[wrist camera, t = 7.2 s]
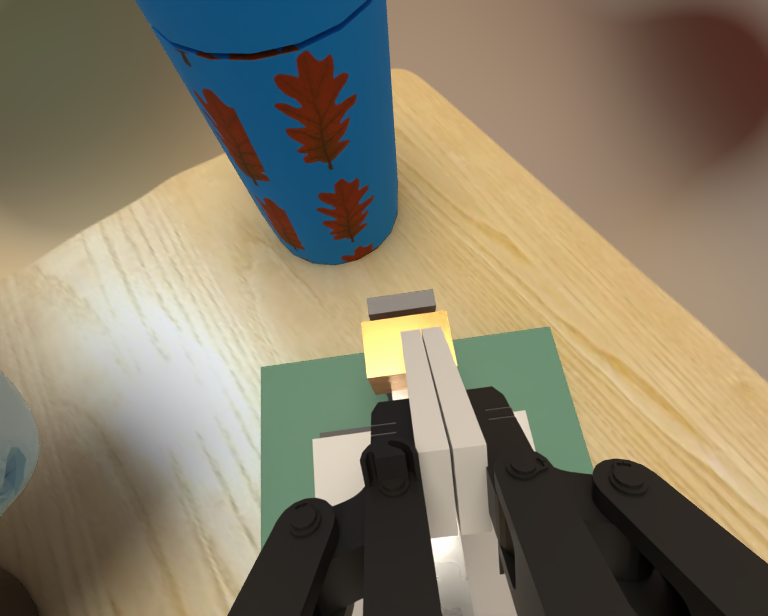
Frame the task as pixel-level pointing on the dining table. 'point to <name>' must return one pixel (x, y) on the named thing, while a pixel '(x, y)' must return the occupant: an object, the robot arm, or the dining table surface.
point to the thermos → (296, 111)
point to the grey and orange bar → (391, 378)
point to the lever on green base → (357, 399)
